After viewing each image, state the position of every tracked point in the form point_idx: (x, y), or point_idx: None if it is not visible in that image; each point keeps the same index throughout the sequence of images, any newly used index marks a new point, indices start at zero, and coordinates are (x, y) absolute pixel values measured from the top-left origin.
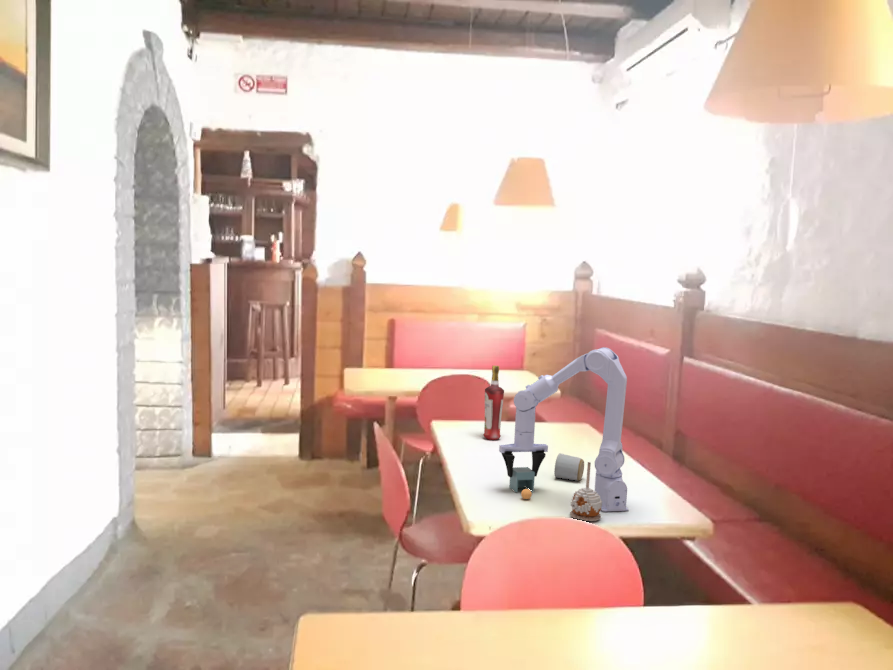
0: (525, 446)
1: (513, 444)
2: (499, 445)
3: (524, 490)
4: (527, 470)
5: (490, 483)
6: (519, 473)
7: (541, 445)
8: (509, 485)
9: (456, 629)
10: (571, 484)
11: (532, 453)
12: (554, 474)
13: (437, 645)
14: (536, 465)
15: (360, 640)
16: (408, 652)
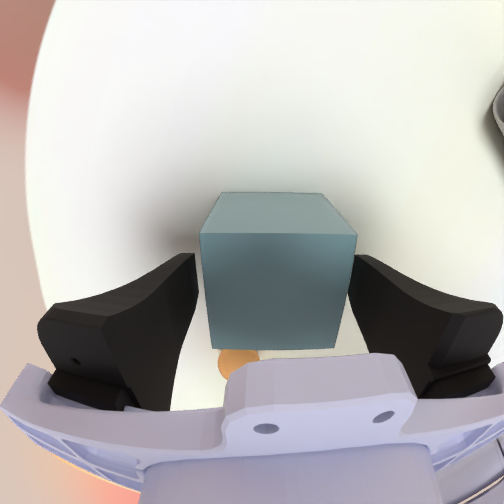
0: None
1: (136, 466)
2: (1, 405)
3: (226, 378)
4: (307, 314)
5: (143, 116)
6: (228, 345)
7: (483, 437)
8: (220, 195)
9: None
10: (498, 201)
11: (434, 326)
12: (497, 118)
13: (108, 480)
14: (369, 352)
15: (74, 465)
16: (97, 477)
